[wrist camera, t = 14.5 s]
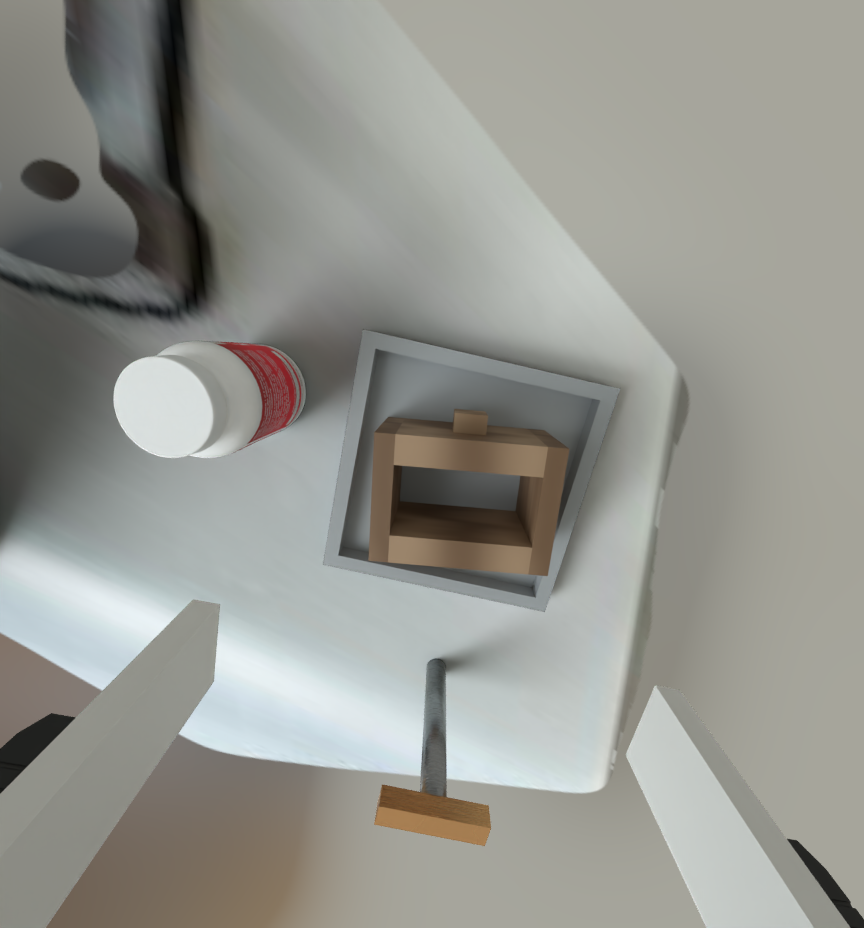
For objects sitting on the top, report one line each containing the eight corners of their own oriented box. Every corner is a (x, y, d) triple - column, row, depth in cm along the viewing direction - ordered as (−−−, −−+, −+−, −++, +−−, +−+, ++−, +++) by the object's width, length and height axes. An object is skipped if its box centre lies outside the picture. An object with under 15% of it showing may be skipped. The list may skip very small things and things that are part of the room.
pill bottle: (274, 326, 28) (171, 309, 18) (325, 404, 29) (257, 432, 19) (204, 374, 29) (66, 385, 18) (256, 447, 30) (155, 496, 20)
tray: (329, 552, 32) (322, 564, 30) (368, 330, 28) (362, 329, 26) (539, 596, 33) (544, 611, 31) (608, 386, 29) (620, 388, 27)
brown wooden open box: (382, 522, 31) (368, 560, 25) (389, 399, 29) (375, 410, 23) (528, 534, 31) (547, 576, 25) (546, 412, 29) (573, 427, 23)
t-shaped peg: (397, 667, 35) (374, 825, 23) (401, 651, 35) (379, 805, 23) (470, 682, 35) (484, 847, 23) (475, 667, 35) (491, 827, 23)
